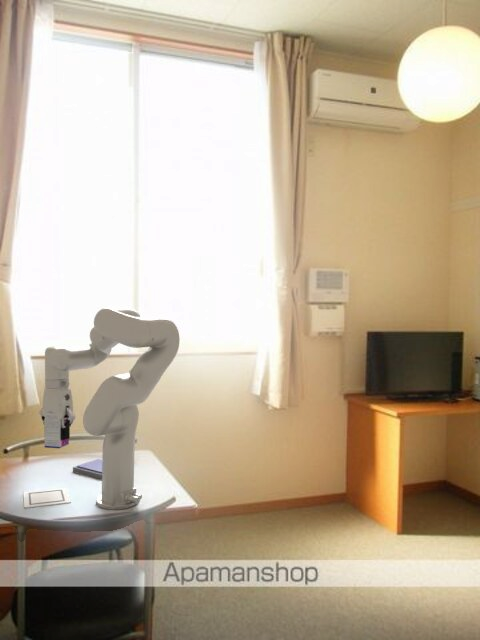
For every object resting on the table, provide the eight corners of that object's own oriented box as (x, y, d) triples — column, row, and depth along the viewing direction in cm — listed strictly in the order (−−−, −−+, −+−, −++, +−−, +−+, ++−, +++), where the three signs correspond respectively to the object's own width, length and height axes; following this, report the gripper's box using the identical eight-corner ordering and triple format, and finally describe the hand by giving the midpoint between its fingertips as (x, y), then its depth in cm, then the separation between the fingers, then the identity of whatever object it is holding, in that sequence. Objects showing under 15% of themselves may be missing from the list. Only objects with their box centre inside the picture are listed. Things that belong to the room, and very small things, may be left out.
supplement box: (60, 448, 174) (60, 413, 174) (43, 447, 176) (43, 412, 175) (69, 444, 180) (69, 410, 180) (53, 443, 181) (53, 409, 181)
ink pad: (125, 470, 195) (125, 464, 195) (101, 479, 184) (101, 473, 184) (97, 463, 202) (98, 457, 202) (72, 471, 192) (72, 465, 191)
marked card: (70, 502, 163) (70, 501, 163) (24, 508, 157) (24, 506, 157) (66, 488, 175) (66, 487, 174) (23, 493, 169) (23, 491, 169)
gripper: (84, 384, 176) (84, 439, 177) (48, 380, 185) (48, 432, 186) (66, 387, 170) (66, 443, 170) (30, 383, 179) (30, 436, 179)
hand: (57, 437), depth 178 cm, fingers closed on supplement box, 7 cm apart
